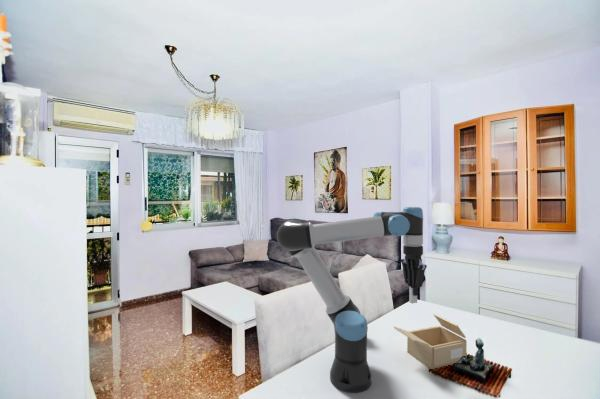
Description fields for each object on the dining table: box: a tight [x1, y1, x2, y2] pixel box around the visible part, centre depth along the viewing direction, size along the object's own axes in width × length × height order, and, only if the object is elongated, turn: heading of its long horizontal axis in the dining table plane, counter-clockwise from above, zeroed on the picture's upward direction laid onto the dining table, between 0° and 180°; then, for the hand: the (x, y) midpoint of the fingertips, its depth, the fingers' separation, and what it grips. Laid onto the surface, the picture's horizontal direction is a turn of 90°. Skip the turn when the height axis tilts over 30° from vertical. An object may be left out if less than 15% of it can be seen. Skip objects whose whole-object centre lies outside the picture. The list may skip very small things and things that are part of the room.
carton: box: [406, 325, 468, 370], centre depth 127 cm, size 18×16×9 cm
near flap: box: [393, 326, 428, 346], centre depth 122 cm, size 1×12×8 cm
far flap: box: [433, 313, 467, 339], centre depth 129 cm, size 1×12×8 cm
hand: (413, 302), depth 122 cm, fingers closed
